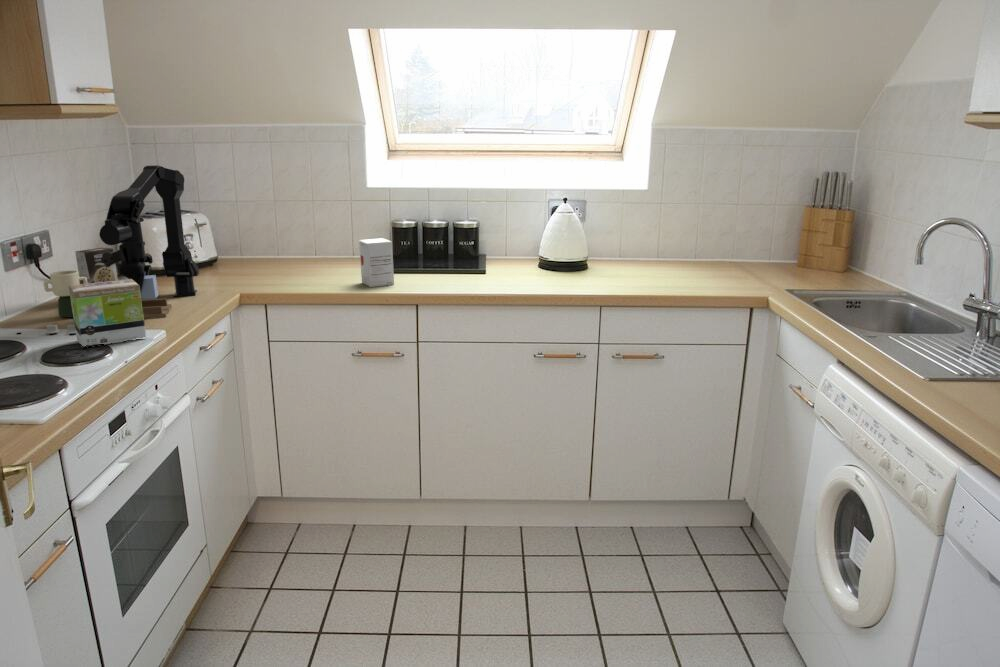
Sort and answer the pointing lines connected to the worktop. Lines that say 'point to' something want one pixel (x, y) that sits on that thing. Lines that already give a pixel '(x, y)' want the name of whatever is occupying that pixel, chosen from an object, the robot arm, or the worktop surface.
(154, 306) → the walnut rack
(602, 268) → the worktop surface
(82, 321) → the tea box
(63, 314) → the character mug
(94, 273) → the coffee box
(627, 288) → the worktop surface
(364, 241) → the supplement box
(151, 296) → the pale blue cuboid
